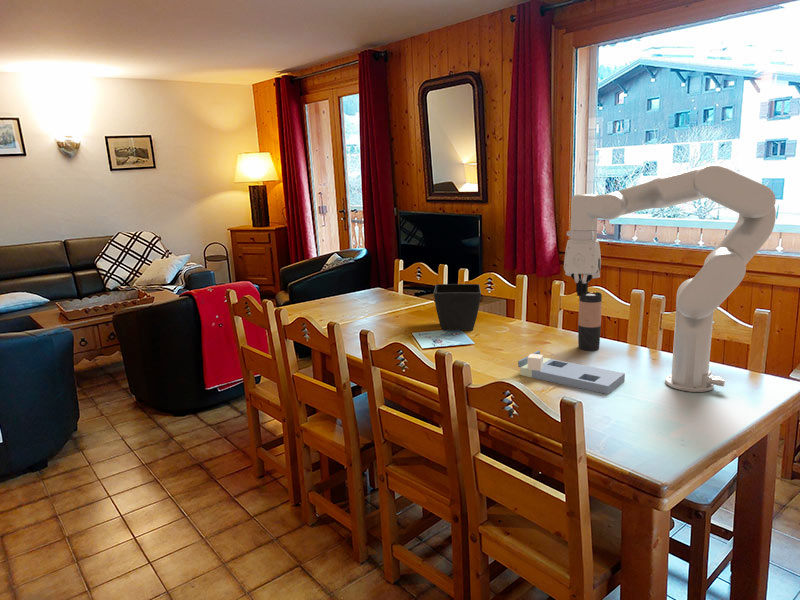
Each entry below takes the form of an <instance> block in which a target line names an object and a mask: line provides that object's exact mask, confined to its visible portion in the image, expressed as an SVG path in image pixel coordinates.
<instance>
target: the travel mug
mask: <svg viewBox="0 0 800 600" xmlns="http://www.w3.org/2000/svg"><path fill="white" fill-rule="evenodd" d="M602 295H603V294H602V293H601V292H598V291H596V292H590V291H588V292H587V293H586V295H585V296H578V298H579V299H578V321H577V322H578V324H577V326H578V328H577V330H578V334H577V335H578V337H577V339H578V342H577V344H578V347H577V348H578V349H580V350H582V351H589V352H594V351H598V350H599V349H600V343H601V330H602V329H601V327H602V326H601V325H602V302H603V301H602V299H603V298H602V297H603V296H602Z"/></svg>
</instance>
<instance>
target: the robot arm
mask: <svg viewBox="0 0 800 600" xmlns="http://www.w3.org/2000/svg"><path fill="white" fill-rule="evenodd" d="M706 198H707V199H709V200H710V201H711V202H715V204H718V205H721V206H723V207H725V208H726V209H729V210H731V211H733V212H736V213H737V214H739V215H738V218H737V221H736V223H735V225H734V226H733V227H732V229H731V230H729V232H728V234H727V235H726V236H725V237H723V240H722V241H721V242H719V244H718V245H717V246H716V247H715V248H714V249H713V250H712V251H711V252H709V254H708V255H707V256H706V258H705V259H704V262H703V266H702V267H701V269H700V270H699V271H698V272H697V273H696V274H695V276H694V277H692V278H688V279H686V280H684V281H683V282H682V283H681V284H680V285H679V287H678V289H677V292H676V297H675V303H676V304H675V320H674V321H675V322H674V332H673V333H674V335H673V350H672V363H671V374H669V375H668V376H666V377H665V384H666V385H667V386H669V387H670V388H672V389H675V390H678V391H683V392H689V393H704V392H709V391H712V390H713V389H714V387H715V386H718V387H723V388H724V387H725V386H726V385H725V383H726V380H725V379H723V377H720V376H715V375H713V374H712V370H710V369H709V368H710V359H711V358H710V357H711V347H712V337H713V336H712V335H713V325H714V324H713V323H714V311H715V310H717V309H718V308H719V307H720V305H722V303H723V302H724V301H725V300H726V299H727V298H728V297H729V296H730V295H731V294H732V292H733V291H734V290H736V289H737V288H738V286H739V285H740V284H741V282H742V281H743V279H744V277H745V276H746V272H747V264H748V263H749V262H750V261H751V259H753V257H754V256H755V255H756V254H757V252H758V251H759V250H760V249H761V248H762V247H763V246H764V244H765V243H766V242H767V241H768V240H769V238H770V236H771V234H772V232H773V231H774V227H775V223H776V216H777V214H776V213H777V212H776V206H775V205H776V199H777V198H776V194H775V192H774V191H773V190H772V189H771V188H770V187H768V185H767V186H766V185H765V184H763V183H761V182H757V181H755V180H753V179H751V178H749V177H746V176H744V175H742V174H741V173H738V172H735V171H733V170H732V169H729V168H727V167H726V166H724V165H722V164H719V163H710V164H705V165H702V166H698V167H694V168H692V169H687V170H684V171H680V172H676V173H671V174H668V175H664V176H660V177H657V178H654V179H652V180H650V181H648V182H645V183H642V184H638V185H634V186H630V187H627V188H623V189H621V190H620V189H619V190H616V191H612V192H607V193H605V194H598V195H596V194H594V193H580V194H575V195H573V196H572V198H571V202H570V204H571V208H570V210H571V211H570V212H571V214H570V230H569V231H568V230H567V231H566V236H567V237H569V239H568V240H567V242H566V247H565V251H564V252H565V253H564V259H563V270H564V272H565V273H564V275H565V276H567V277H571V278H572V280H574V282H575V285H576V286H575V287H576V288H575V290H576V291H575V292H576V293H577V294H576V296H577V297H579V296H585V295H586V293H587V292H589V291H588V290H589V287H588V286H589V285H588V284H589V282H591V280H592V279H598V278H600V277H601V268H602V267H601V266H602V257H601V247H600V241H599V240H598V238H597V237H598V219H600V220H601V219H602V220H609V221H610V220H611V221H612V220H615V219H618V218H619V217H621V216H625V215H628V214H632V213H635V212H640V211H644V210H649V209H650V210H651V209H664V208H670V207H673V206H679V205H681V204H685V203H689V202H693V201H694V202H695V201H697V200H701V199H706Z"/></svg>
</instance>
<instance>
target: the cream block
mask: <svg viewBox="0 0 800 600" xmlns="http://www.w3.org/2000/svg"><path fill="white" fill-rule="evenodd" d="M527 356H528V370H536V371H541V369H542V368H543V357H544V354H541V353H540V354H532V353H530V354H528V355H527Z"/></svg>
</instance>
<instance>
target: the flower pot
mask: <svg viewBox="0 0 800 600" xmlns="http://www.w3.org/2000/svg"><path fill="white" fill-rule="evenodd" d="M481 295H482V290H481V285H480V284H478V283H477V284H475V283H469V284H468V283H449V284H448V283H441V284H439V283H437V284H435V285H434V290H433V299H434V305H435V309H436V314H437V318H438V322H439V325H440V328H441V330H442V331H473V330H474V327H475V325H476V321H477V318H478V313H479V309H480V303H481V298H482V297H481Z"/></svg>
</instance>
